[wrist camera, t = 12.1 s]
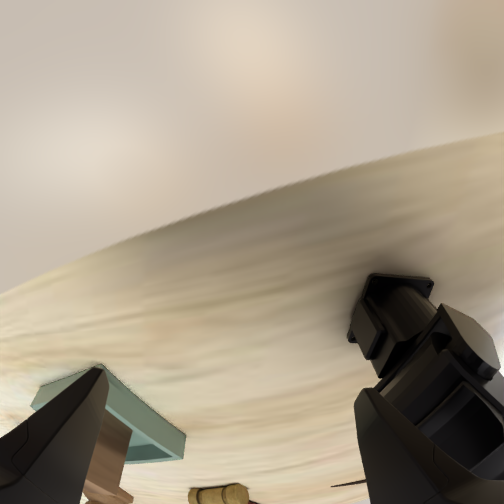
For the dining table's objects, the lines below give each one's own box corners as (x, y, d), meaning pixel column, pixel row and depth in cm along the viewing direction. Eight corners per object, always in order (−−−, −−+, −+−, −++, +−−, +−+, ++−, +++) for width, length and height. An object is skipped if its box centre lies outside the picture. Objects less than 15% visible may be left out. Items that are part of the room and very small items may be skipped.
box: (101, 363, 24) (89, 389, 21) (186, 435, 30) (183, 459, 26) (40, 386, 27) (30, 406, 24) (113, 446, 32) (108, 464, 29)
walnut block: (102, 405, 26) (78, 474, 17) (133, 429, 28) (116, 495, 19) (79, 410, 27) (55, 472, 18) (108, 433, 29) (90, 492, 20)
